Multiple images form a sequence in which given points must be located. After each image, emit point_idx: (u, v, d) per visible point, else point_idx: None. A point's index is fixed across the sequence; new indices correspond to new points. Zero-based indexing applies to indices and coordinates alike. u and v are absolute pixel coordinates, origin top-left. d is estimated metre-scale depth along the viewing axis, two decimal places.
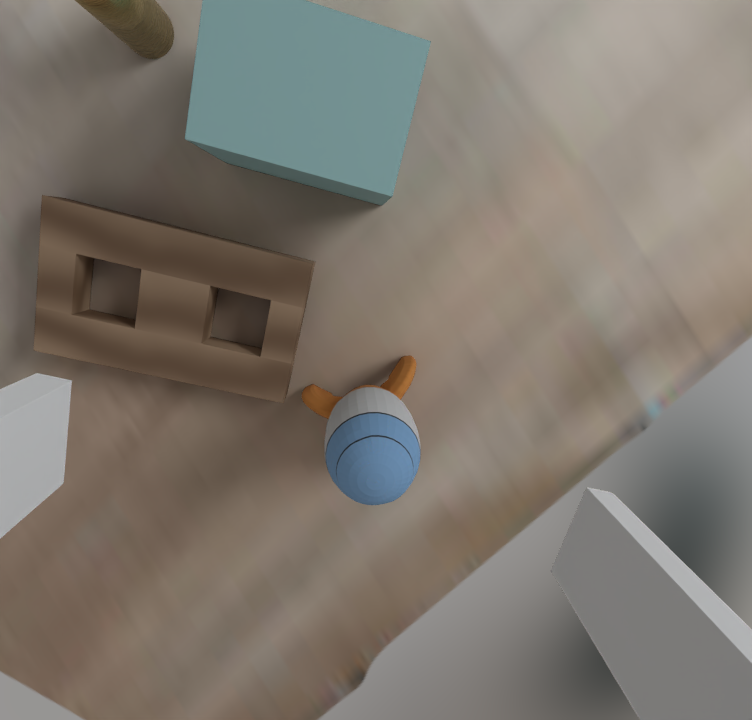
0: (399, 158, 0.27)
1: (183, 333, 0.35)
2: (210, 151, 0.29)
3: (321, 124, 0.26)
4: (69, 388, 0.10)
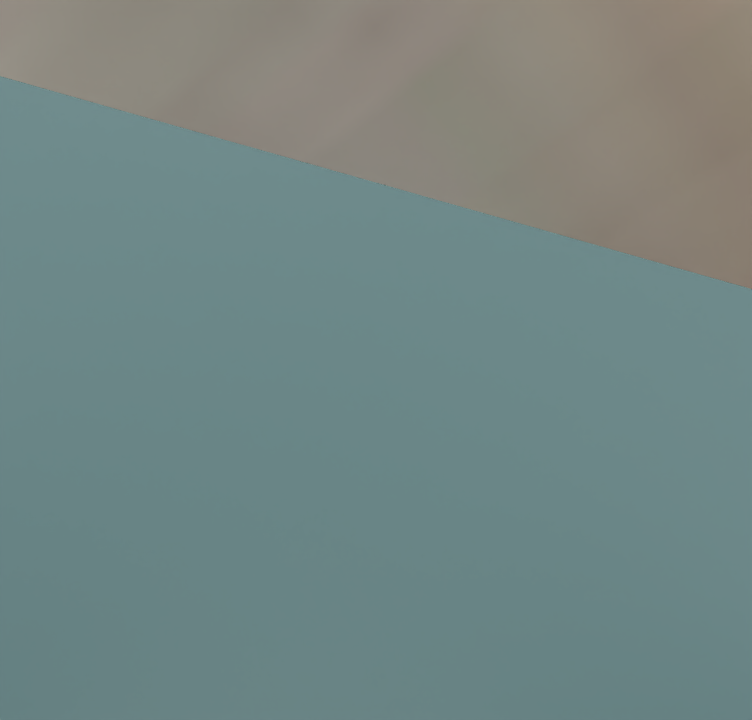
0: None
1: None
2: None
3: None
4: None
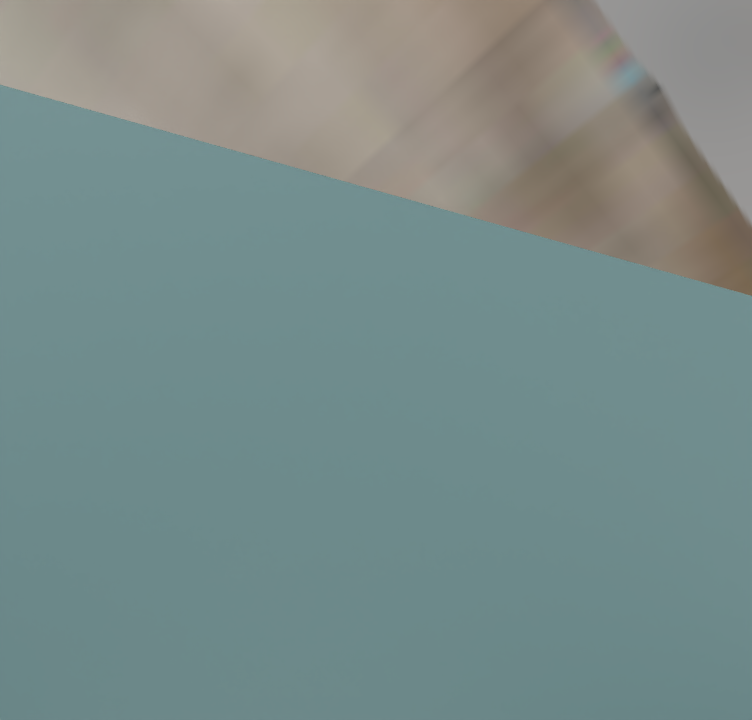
0: None
1: None
2: None
3: None
4: None
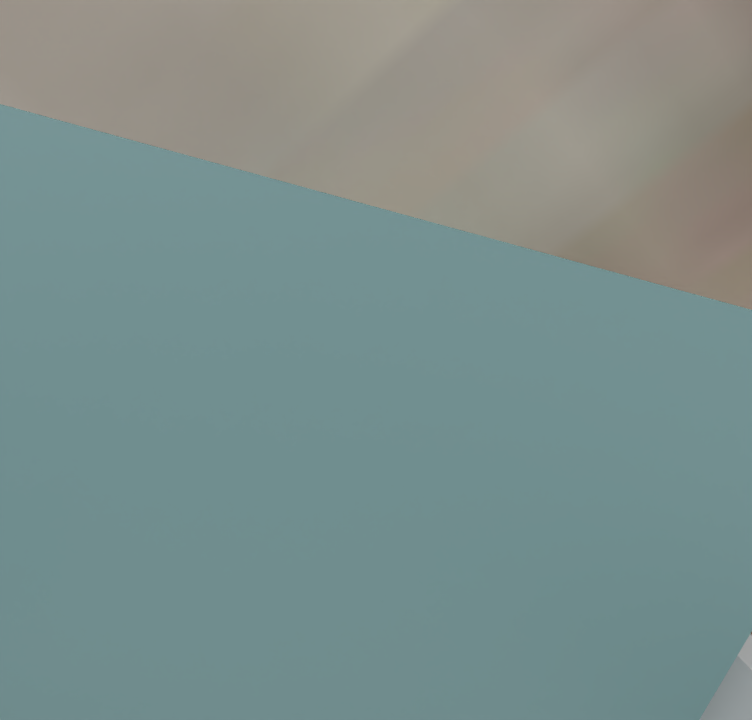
0: (696, 311, 0.04)
1: None
2: None
3: None
4: None
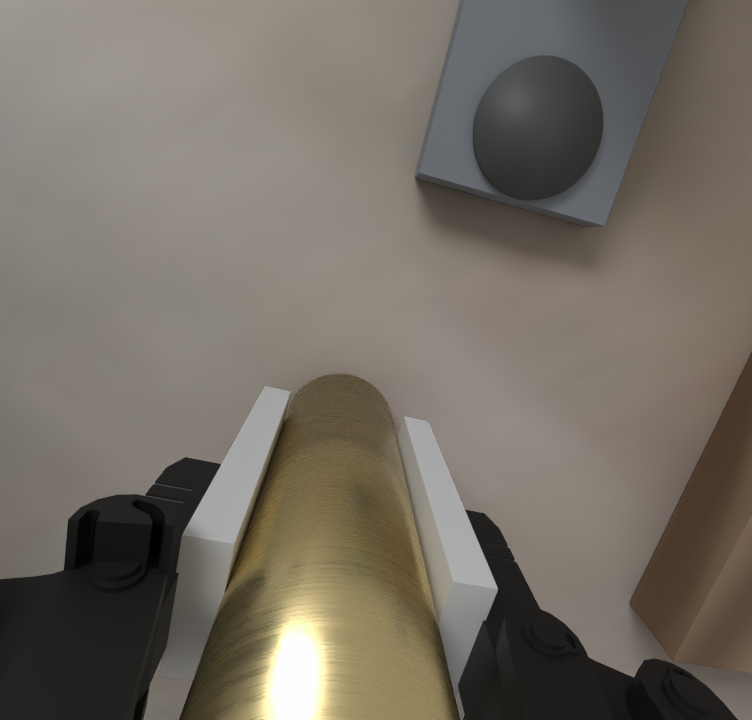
0: None
1: None
2: None
3: None
4: None
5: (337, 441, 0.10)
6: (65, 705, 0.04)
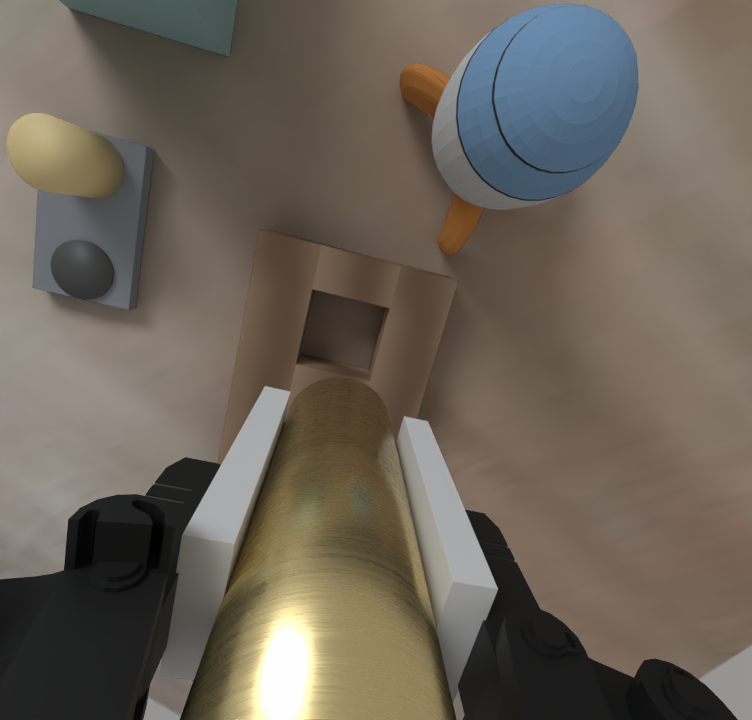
0: None
1: None
2: None
3: None
4: None
5: (336, 446, 0.10)
6: (65, 705, 0.04)
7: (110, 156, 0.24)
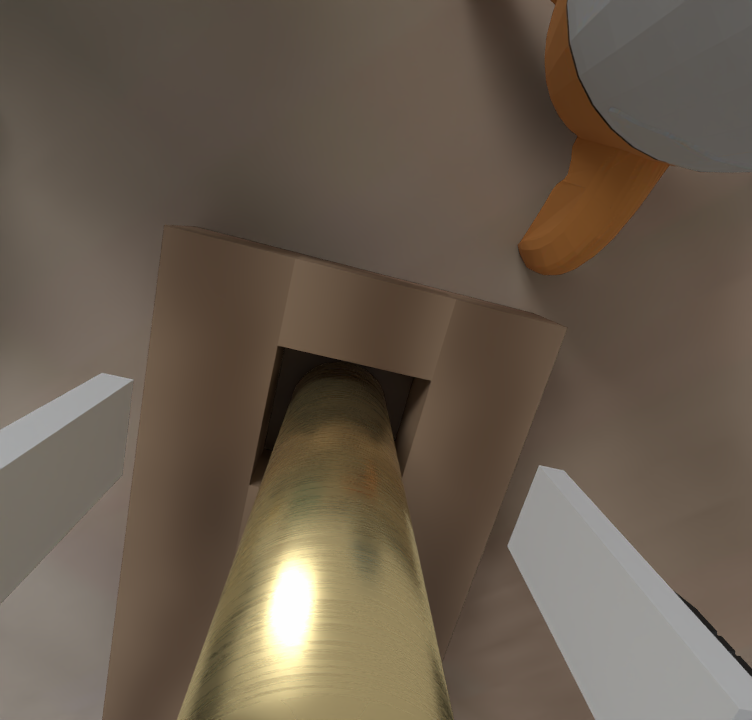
0: None
1: None
2: None
3: None
4: (131, 387, 0.11)
5: (336, 414, 0.11)
6: None
7: None
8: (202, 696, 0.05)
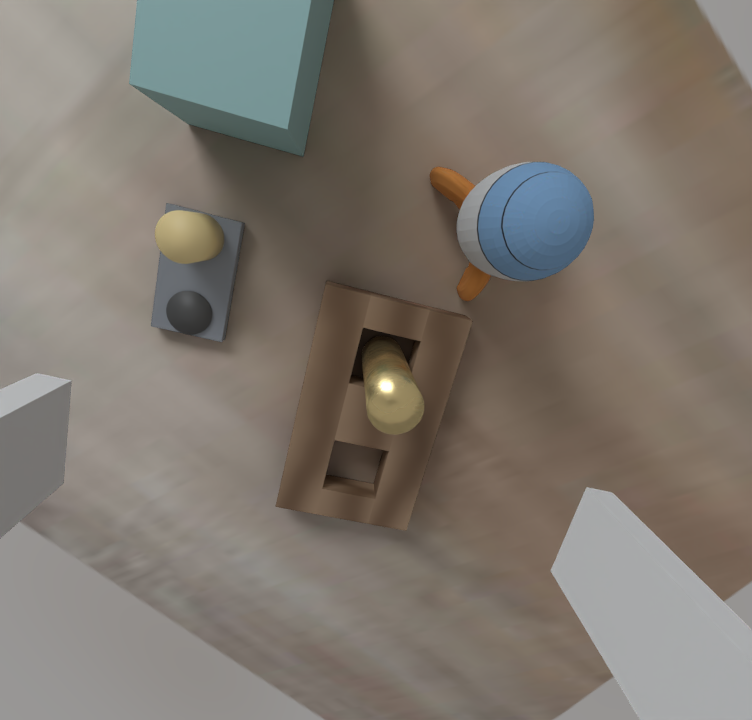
0: None
1: None
2: (296, 133, 0.28)
3: None
4: (69, 388, 0.10)
5: (387, 349, 0.33)
6: None
7: (218, 232, 0.32)
8: (375, 386, 0.27)
